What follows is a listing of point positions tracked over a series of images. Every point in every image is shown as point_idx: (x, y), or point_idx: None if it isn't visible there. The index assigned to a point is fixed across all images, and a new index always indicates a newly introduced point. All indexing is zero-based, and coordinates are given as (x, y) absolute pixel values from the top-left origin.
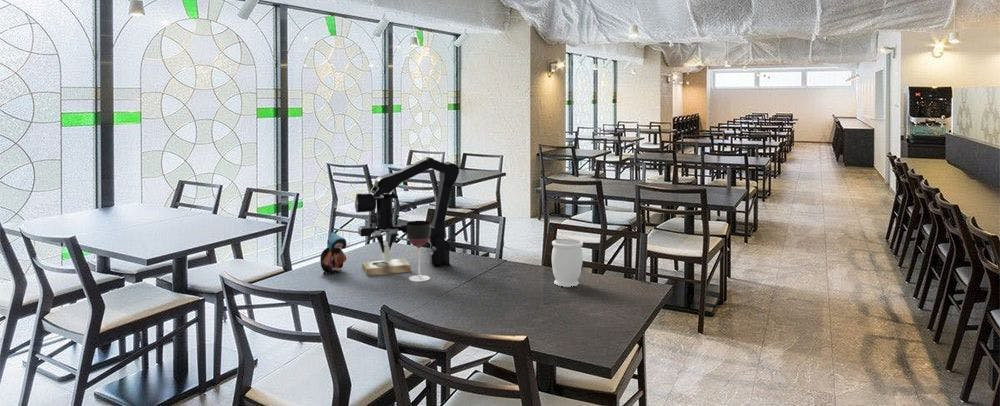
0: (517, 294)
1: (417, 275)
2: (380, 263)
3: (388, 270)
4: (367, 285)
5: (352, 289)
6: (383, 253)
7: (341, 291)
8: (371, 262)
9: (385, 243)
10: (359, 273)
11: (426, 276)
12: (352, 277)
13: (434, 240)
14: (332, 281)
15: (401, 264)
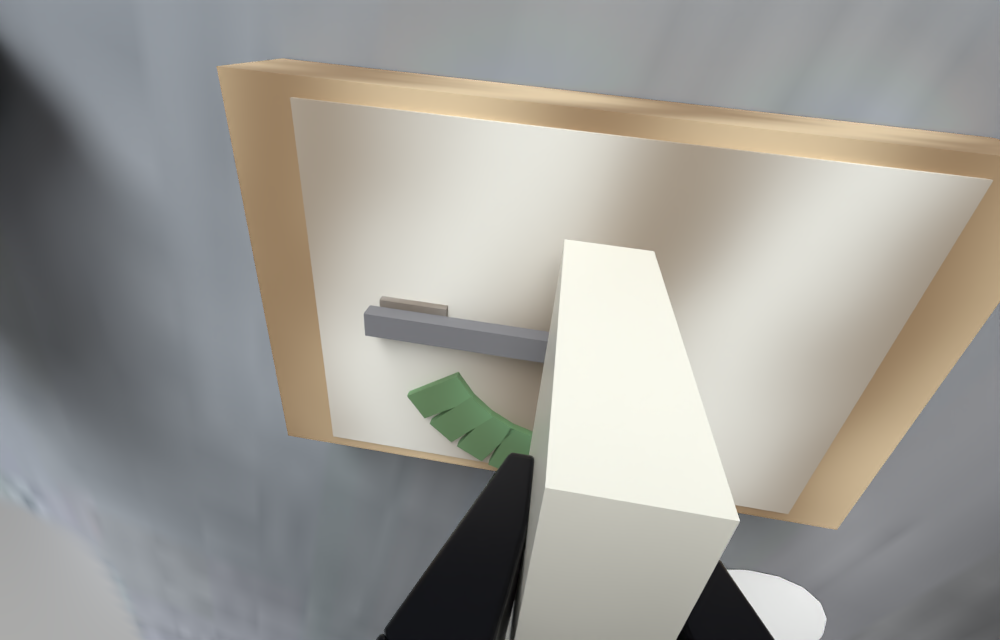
0: None
1: (760, 580)
2: (501, 309)
3: None
4: (308, 566)
5: (210, 577)
6: (534, 450)
7: (147, 573)
8: (380, 178)
9: (678, 567)
10: (249, 262)
11: (800, 633)
12: (184, 358)
13: None
14: (25, 380)
15: (743, 480)
